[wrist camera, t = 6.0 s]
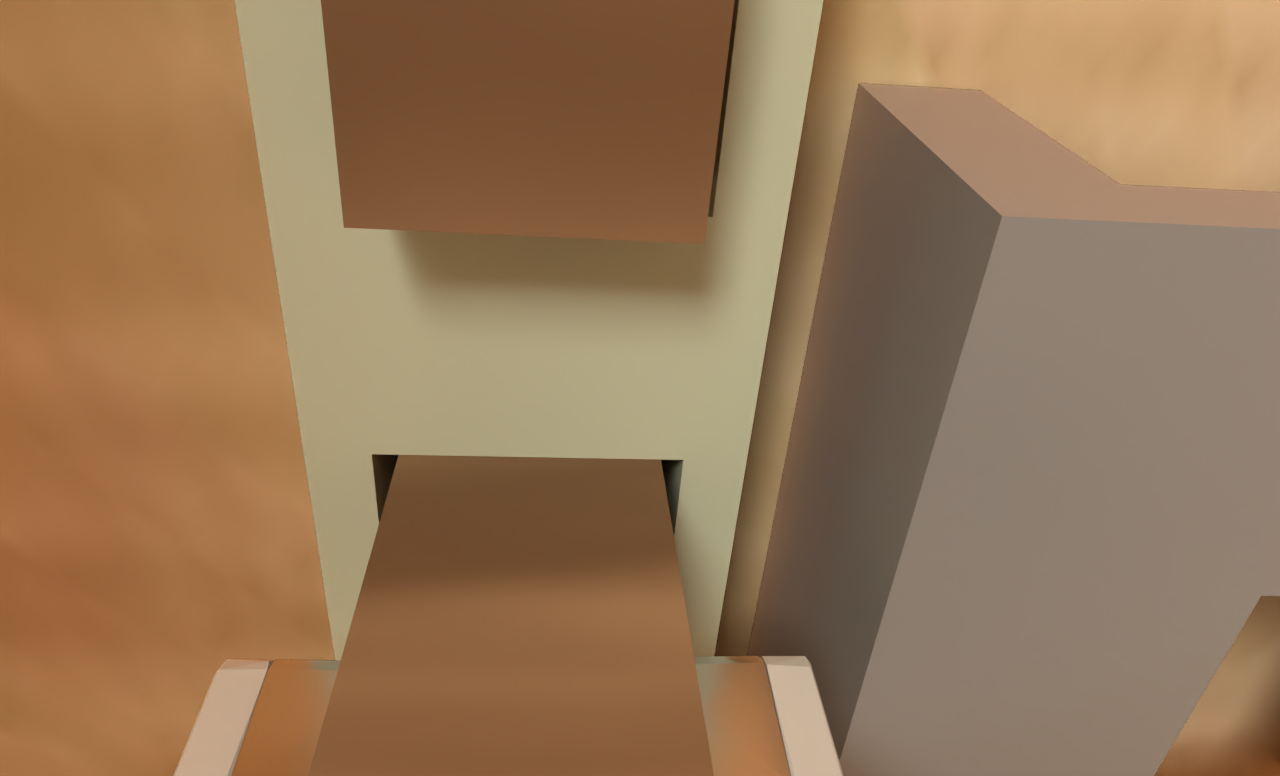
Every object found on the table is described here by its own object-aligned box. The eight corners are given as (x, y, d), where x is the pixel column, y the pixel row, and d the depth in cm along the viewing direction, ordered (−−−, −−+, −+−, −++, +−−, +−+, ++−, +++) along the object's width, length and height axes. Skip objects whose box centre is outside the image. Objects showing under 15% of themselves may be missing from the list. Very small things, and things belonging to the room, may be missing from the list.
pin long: (422, 370, 13) (208, 1135, 5) (646, 375, 13) (769, 1102, 5) (432, 547, 14) (278, 1339, 7) (632, 548, 15) (711, 1307, 7)
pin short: (392, -202, 10) (299, -208, 6) (692, -174, 10) (755, -165, 7) (410, 103, 11) (344, 226, 8) (664, 118, 12) (704, 244, 8)
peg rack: (258, -438, 9) (155, -521, 6) (820, -378, 9) (896, -436, 7) (402, 847, 20) (382, 972, 17) (653, 841, 20) (663, 962, 18)
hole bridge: (858, 82, 11) (1002, 216, 8) (1826, 140, 13) (2354, 278, 9) (724, 773, 19) (763, 1015, 15) (1346, 764, 20) (1526, 984, 16)
